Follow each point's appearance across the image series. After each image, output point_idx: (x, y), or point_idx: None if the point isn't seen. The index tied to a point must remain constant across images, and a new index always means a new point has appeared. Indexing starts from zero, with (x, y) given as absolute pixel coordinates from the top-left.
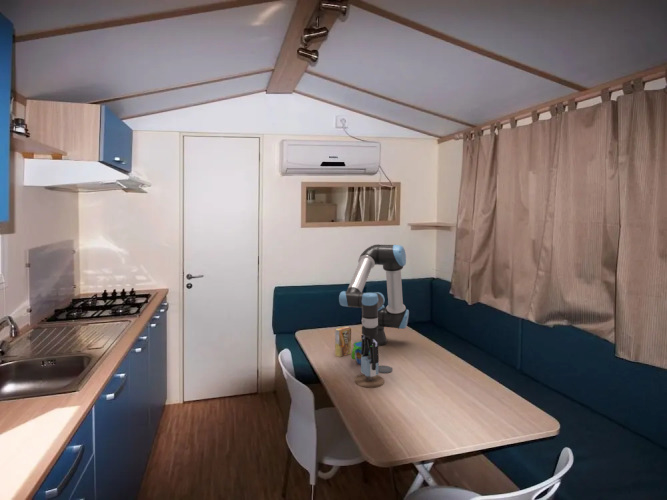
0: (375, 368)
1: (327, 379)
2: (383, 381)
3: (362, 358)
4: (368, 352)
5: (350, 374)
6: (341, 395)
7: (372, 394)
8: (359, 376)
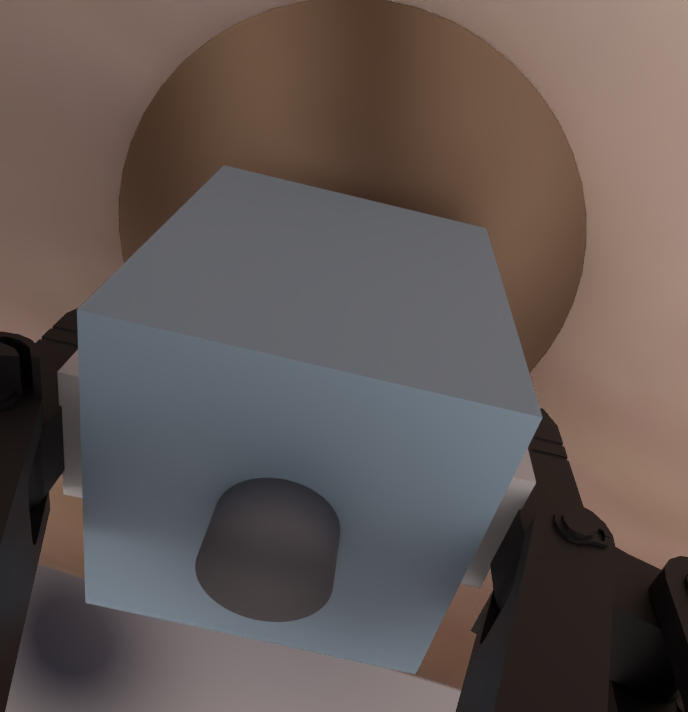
0: (555, 441)
1: (62, 552)
2: (543, 118)
3: (178, 617)
4: (14, 524)
5: (12, 307)
6: (441, 642)
7: (659, 461)
8: None
